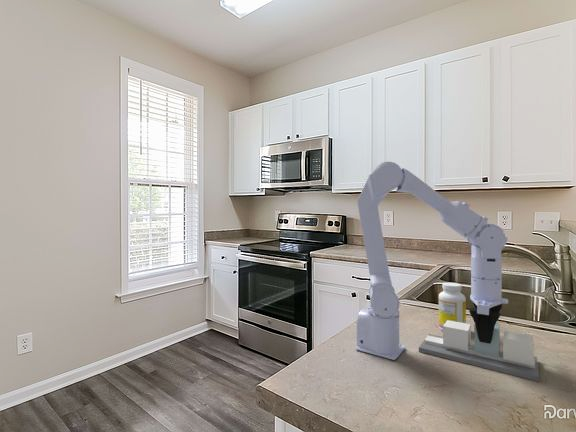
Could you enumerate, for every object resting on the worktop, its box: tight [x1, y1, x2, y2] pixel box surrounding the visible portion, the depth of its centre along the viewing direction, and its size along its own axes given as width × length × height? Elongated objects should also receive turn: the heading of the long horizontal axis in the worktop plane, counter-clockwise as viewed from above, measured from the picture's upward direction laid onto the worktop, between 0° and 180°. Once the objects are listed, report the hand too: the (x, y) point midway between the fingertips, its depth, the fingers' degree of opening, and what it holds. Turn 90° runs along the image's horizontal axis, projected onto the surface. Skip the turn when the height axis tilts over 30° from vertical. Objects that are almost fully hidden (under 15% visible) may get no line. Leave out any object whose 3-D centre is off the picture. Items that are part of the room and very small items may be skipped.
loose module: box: [473, 322, 501, 357], centre depth 69 cm, size 4×4×6 cm
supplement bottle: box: [438, 282, 467, 332], centre depth 86 cm, size 7×7×13 cm
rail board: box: [418, 320, 540, 383], centre depth 70 cm, size 22×10×6 cm, turn 53°
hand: (486, 338), depth 69 cm, fingers open, 5 cm apart
